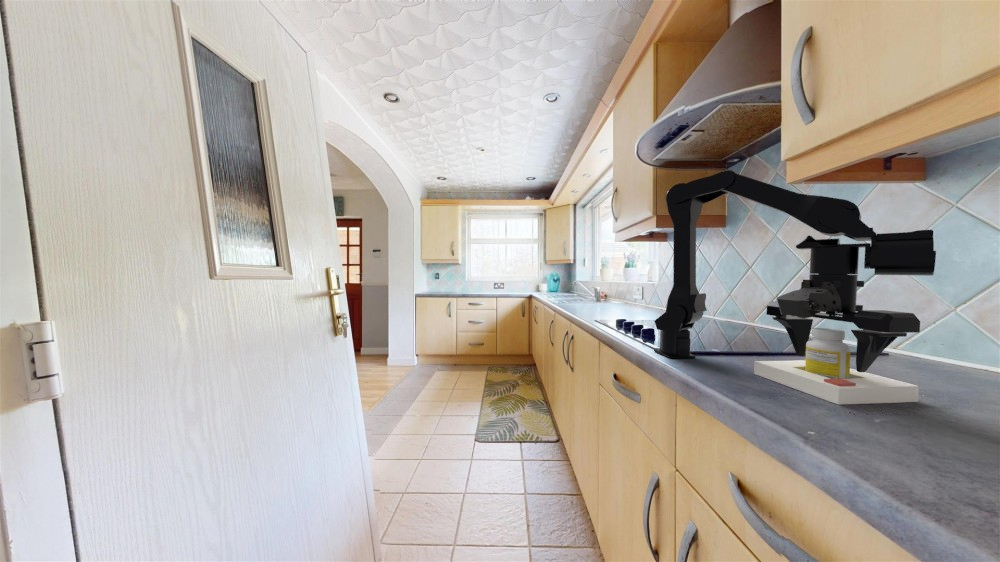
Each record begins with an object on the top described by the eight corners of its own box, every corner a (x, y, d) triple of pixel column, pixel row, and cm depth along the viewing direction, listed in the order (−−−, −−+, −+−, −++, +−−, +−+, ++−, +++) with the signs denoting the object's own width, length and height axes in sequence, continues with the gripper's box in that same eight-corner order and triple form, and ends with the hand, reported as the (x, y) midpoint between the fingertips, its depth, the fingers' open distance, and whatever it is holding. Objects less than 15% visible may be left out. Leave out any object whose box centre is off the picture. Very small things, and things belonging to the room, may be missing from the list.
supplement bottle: (827, 380, 57) (830, 327, 57) (858, 391, 52) (862, 333, 52) (796, 378, 58) (798, 326, 57) (823, 389, 52) (826, 332, 52)
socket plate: (754, 373, 61) (754, 359, 61) (817, 372, 62) (818, 358, 62) (838, 404, 47) (839, 385, 47) (917, 401, 49) (919, 383, 48)
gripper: (743, 273, 63) (740, 350, 63) (858, 275, 44) (852, 384, 45) (793, 273, 64) (789, 349, 64) (926, 275, 45) (919, 382, 46)
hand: (828, 363), depth 55 cm, fingers open, 9 cm apart
